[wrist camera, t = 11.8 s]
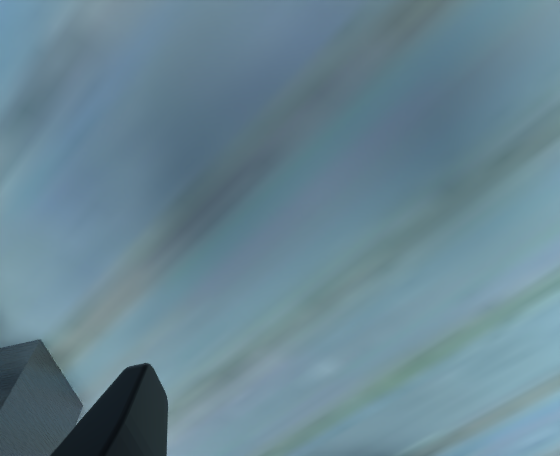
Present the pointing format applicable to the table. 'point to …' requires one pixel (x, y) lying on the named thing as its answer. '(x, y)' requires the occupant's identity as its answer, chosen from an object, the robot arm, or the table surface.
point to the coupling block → (34, 401)
